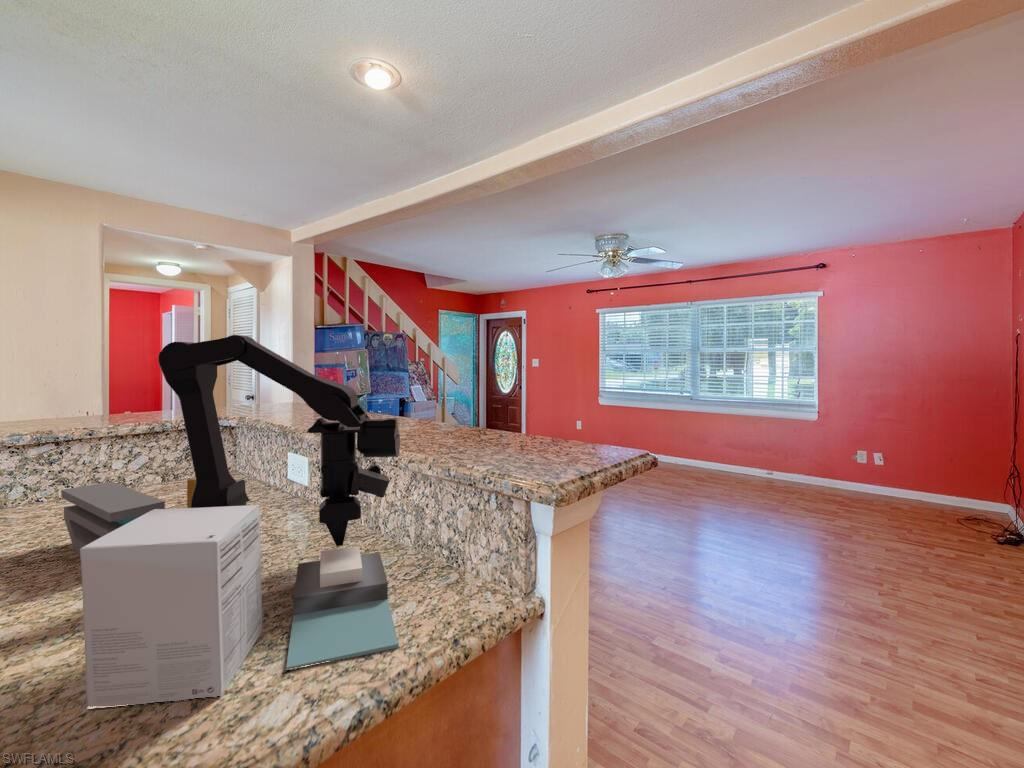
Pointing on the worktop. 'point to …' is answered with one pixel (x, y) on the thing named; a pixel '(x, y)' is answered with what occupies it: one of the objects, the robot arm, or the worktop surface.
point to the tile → (340, 566)
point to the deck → (339, 587)
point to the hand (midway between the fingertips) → (339, 545)
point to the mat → (341, 633)
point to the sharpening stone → (103, 510)
